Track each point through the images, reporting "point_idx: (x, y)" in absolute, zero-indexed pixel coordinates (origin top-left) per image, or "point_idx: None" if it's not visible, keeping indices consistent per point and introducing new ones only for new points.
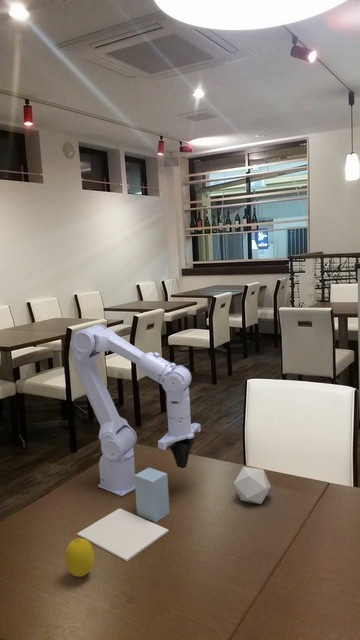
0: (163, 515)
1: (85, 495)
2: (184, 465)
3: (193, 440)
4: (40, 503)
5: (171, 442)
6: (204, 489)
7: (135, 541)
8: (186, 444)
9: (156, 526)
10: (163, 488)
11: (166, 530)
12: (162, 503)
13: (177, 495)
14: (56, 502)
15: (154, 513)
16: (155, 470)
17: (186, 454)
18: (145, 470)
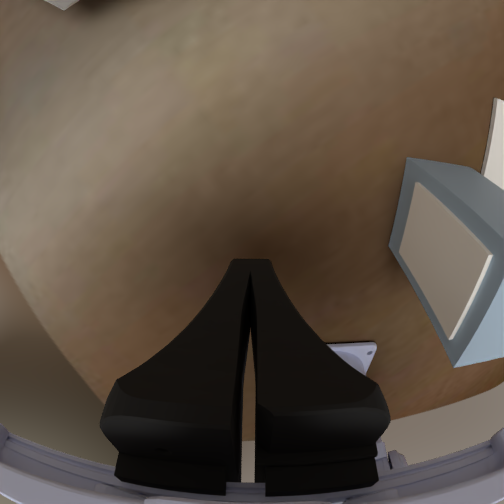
0: (440, 163)
1: (393, 390)
2: (259, 266)
3: (127, 409)
4: (438, 406)
5: (493, 476)
6: (161, 148)
7: None
8: (306, 416)
9: (496, 146)
10: (497, 212)
11: (502, 103)
12: (468, 182)
13: (276, 211)
14: (431, 398)
15: (489, 181)
16: (484, 326)
17: (240, 319)
18: (484, 355)
